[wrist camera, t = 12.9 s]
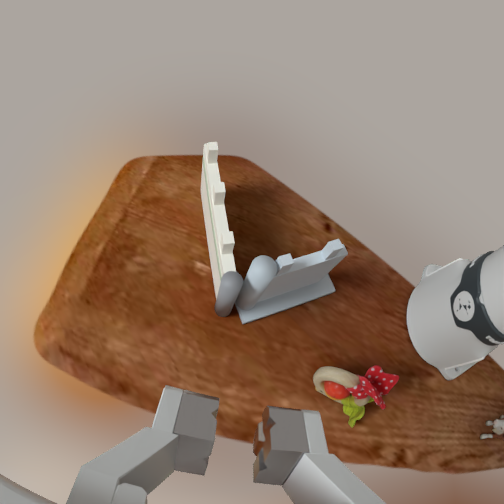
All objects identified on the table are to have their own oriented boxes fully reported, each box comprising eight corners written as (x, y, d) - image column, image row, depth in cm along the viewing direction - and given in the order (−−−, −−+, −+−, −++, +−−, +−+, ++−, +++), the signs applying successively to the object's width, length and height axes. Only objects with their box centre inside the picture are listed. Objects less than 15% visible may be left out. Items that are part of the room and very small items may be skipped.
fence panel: (232, 315, 39) (248, 283, 28) (216, 317, 38) (224, 286, 27) (211, 190, 46) (219, 129, 34) (197, 191, 45) (201, 130, 34)
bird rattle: (302, 407, 38) (365, 434, 34) (297, 391, 29) (382, 426, 25) (323, 366, 40) (385, 390, 37) (325, 337, 32) (406, 368, 28)
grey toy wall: (318, 259, 44) (358, 214, 33) (333, 292, 43) (379, 256, 31) (229, 287, 41) (242, 244, 29) (242, 324, 39) (262, 295, 28)
